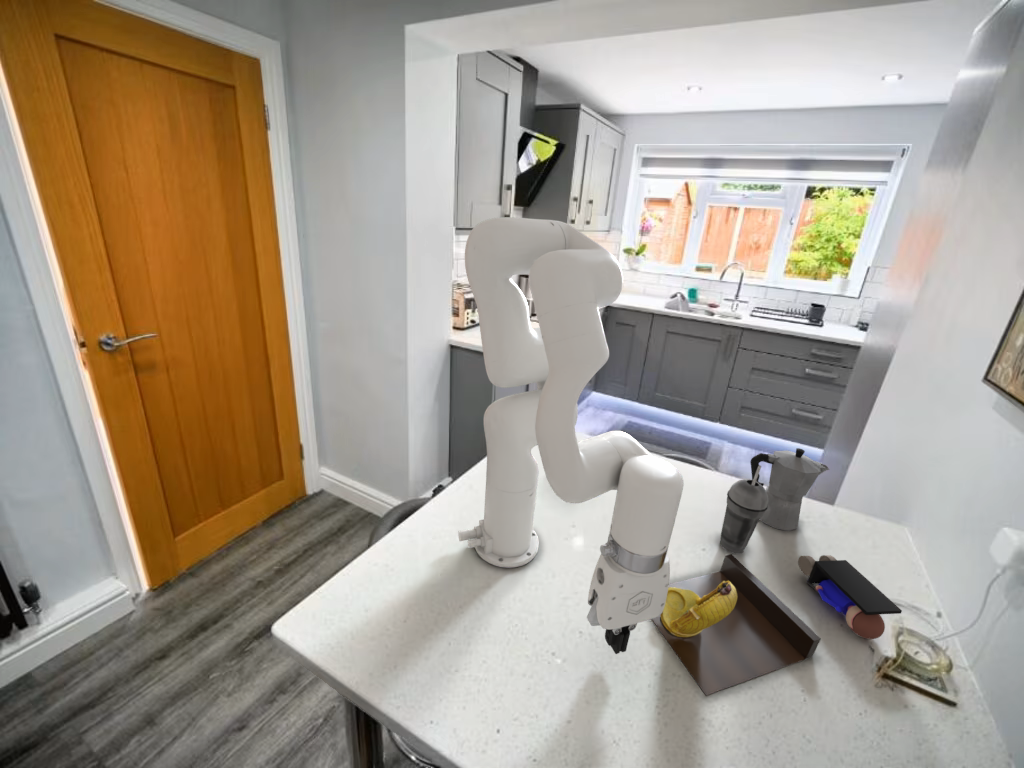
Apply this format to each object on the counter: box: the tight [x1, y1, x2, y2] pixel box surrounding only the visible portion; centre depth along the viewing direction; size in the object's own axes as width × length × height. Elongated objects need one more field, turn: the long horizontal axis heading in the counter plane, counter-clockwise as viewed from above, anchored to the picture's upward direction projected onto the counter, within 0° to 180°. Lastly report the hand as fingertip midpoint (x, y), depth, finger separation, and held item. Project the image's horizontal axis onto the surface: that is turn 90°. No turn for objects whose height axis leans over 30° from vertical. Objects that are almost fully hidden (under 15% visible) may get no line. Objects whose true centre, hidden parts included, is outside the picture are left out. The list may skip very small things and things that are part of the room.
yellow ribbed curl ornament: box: [660, 581, 737, 639], centre depth 67 cm, size 12×8×15 cm
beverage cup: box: [719, 464, 768, 555], centre depth 86 cm, size 7×7×20 cm
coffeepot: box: [750, 447, 830, 531], centre depth 96 cm, size 15×9×18 cm, turn 79°
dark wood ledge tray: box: [651, 553, 822, 696], centre depth 71 cm, size 21×18×4 cm
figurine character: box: [797, 554, 903, 640], centre depth 76 cm, size 7×8×15 cm
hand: (615, 643), depth 64 cm, fingers closed
